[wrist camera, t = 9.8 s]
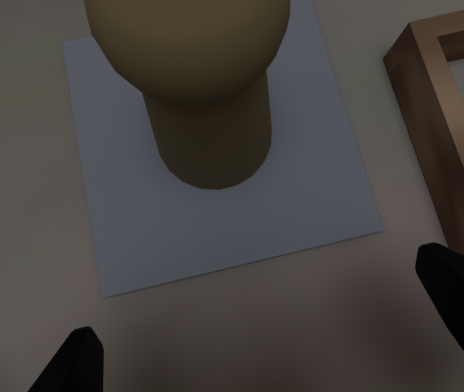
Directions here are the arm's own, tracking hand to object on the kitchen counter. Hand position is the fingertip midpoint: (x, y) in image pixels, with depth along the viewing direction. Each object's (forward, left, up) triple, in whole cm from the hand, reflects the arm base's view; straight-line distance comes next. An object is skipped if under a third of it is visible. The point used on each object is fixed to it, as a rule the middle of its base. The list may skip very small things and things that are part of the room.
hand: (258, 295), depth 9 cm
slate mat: (+8, 0, -8) cm, 11 cm away
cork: (+8, 0, -8) cm, 11 cm away
